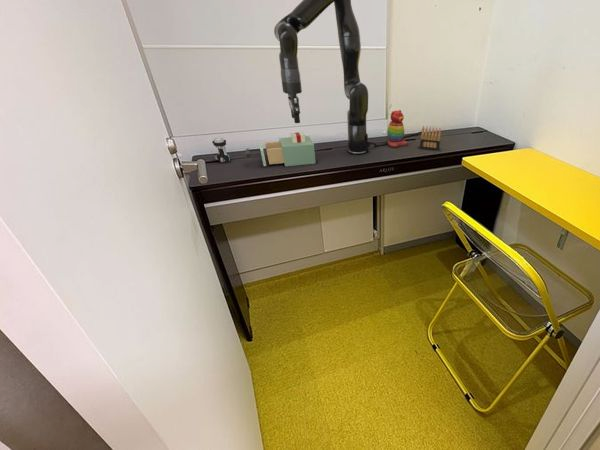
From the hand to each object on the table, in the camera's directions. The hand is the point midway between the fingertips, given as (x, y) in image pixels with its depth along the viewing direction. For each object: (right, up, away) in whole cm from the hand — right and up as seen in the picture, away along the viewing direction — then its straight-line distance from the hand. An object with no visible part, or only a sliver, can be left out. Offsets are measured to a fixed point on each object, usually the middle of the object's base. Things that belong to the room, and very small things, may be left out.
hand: (295, 120), depth 136 cm
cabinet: (-2, -15, +10) cm, 18 cm away
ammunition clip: (+62, -4, +34) cm, 71 cm away
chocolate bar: (0, -8, +5) cm, 9 cm away
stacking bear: (+43, -1, +37) cm, 57 cm away
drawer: (-13, -17, +5) cm, 22 cm away
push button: (-34, -17, +4) cm, 39 cm away
